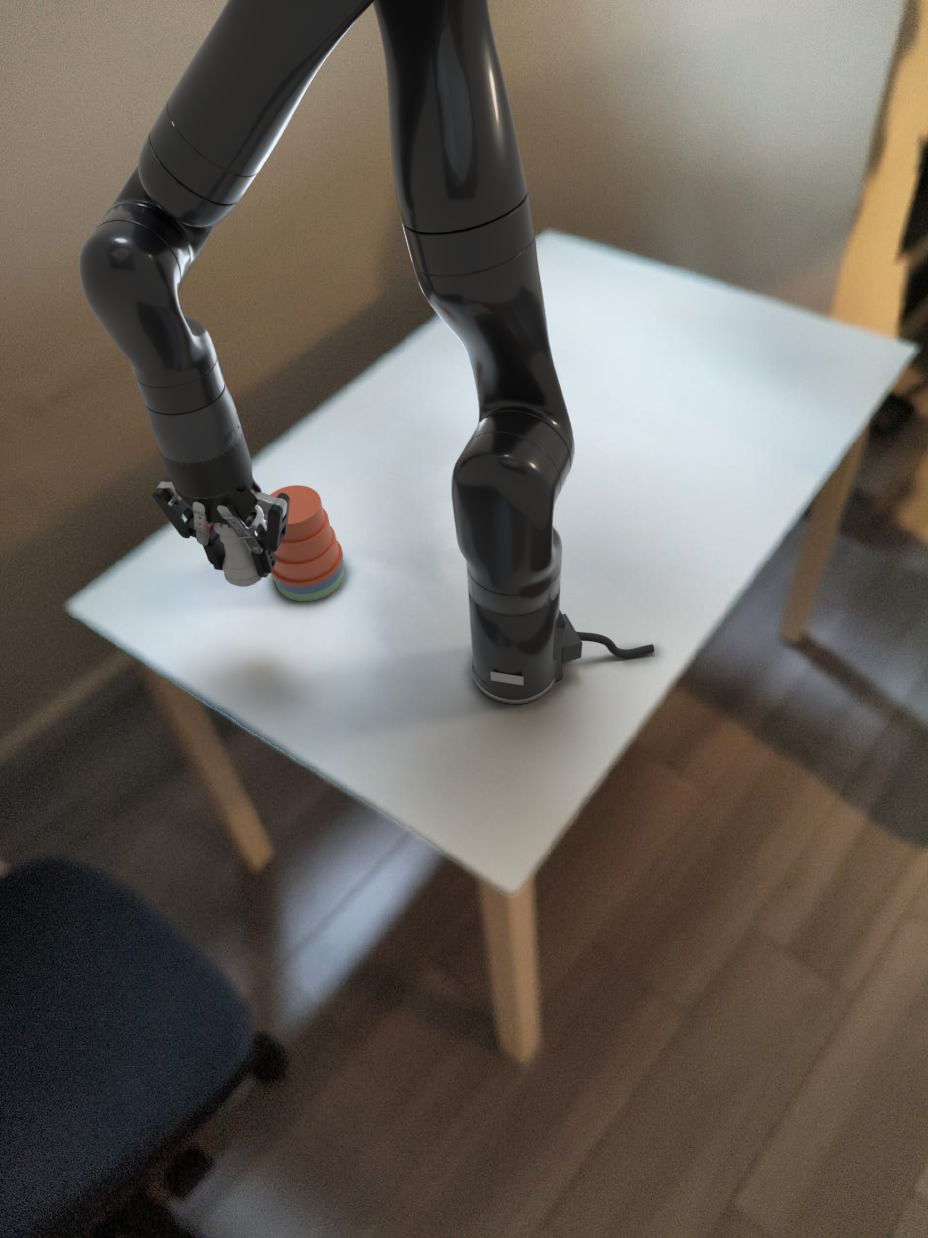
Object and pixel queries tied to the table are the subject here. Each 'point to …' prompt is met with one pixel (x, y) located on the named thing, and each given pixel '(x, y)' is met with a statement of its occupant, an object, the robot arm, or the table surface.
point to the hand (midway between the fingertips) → (244, 567)
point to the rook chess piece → (236, 558)
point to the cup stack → (307, 549)
